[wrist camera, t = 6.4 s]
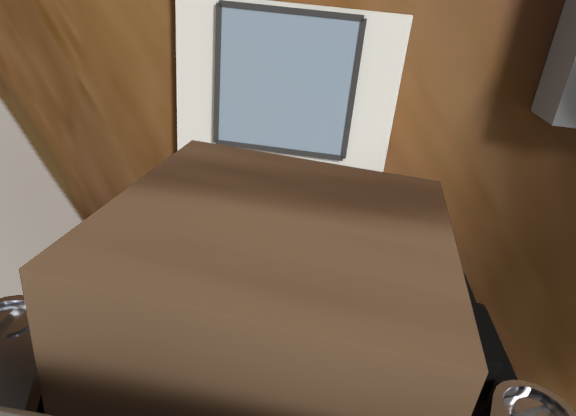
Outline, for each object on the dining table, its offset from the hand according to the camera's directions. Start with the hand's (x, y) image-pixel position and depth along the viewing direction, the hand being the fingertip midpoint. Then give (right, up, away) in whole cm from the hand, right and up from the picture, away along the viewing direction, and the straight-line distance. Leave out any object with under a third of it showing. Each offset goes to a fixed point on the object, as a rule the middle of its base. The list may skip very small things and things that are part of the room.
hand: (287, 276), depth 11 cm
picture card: (0, +5, +16) cm, 17 cm away
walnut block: (0, 0, 0) cm, 0 cm away
